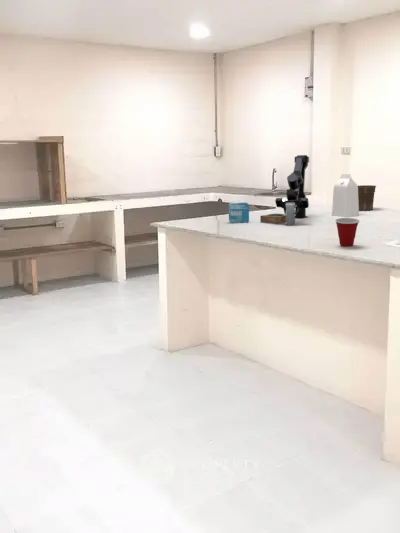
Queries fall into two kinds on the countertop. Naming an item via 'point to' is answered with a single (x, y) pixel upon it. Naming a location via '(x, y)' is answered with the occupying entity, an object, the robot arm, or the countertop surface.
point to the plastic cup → (346, 230)
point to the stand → (273, 218)
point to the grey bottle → (290, 213)
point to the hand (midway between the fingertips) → (290, 214)
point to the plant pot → (366, 197)
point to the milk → (345, 197)
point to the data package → (239, 212)
